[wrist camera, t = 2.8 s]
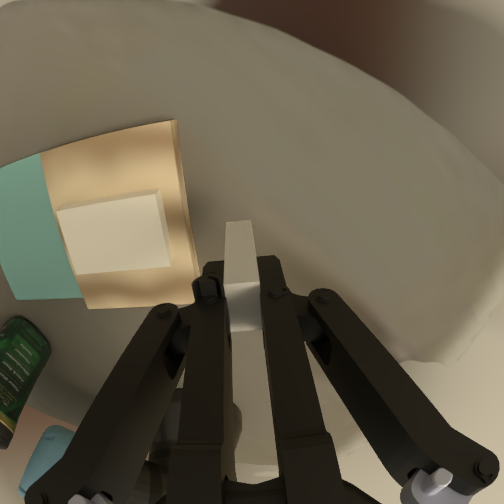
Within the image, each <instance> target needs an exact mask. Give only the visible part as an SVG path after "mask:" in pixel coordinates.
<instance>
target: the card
mask: <svg viewBox="0 0 504 504" xmlns="http://www.w3.org/2000/svg"><path fill="white" fill-rule="evenodd" d="M56 213H57V217H58V220H59V224H60V227H61V230H62V234H63V237H64V240H65V243H66V246H67V249H68V252H69V255H70V258H71V260H72V263H73V266H74V269H75V271H76V274H77V275H80V274H91V273H103V272H114V271H125V270H137V269H148V268H159V267H170V266H171V263H172V260H173V257H174V256H173V252H172V247H171V242H170V237H169V233H168V228H167V223H166V217H165V212H164V207H163V201H162V196H161V190H160V188H156V189H150V190H143V191H137V192H130V193H124V194H118V195H113V196H107V197H102V198H96V199H91V200H86V201H81V202H76V203H71V204H66V205H64V206H63V207H61V208H60V209H59V210H57V211H56Z"/></svg>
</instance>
